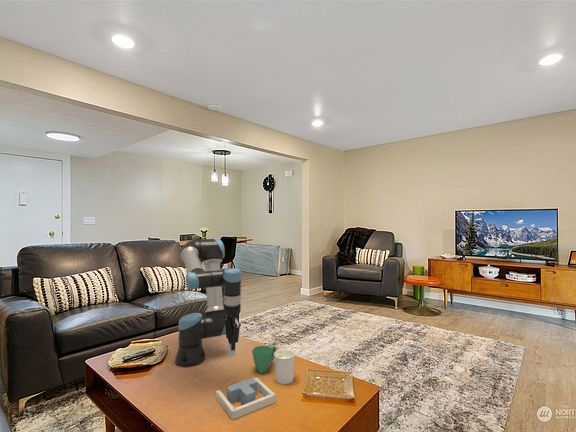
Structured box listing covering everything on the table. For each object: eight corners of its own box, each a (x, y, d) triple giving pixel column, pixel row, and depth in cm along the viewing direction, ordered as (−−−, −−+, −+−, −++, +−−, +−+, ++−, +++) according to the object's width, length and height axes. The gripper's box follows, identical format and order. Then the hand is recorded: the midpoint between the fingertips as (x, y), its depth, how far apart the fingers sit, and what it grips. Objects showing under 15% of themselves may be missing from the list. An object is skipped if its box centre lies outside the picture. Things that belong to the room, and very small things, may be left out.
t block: (226, 399, 126) (226, 386, 126) (252, 389, 133) (252, 378, 133) (237, 411, 118) (237, 398, 118) (264, 400, 125) (264, 388, 125)
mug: (263, 377, 143) (263, 356, 143) (248, 371, 148) (248, 351, 148) (282, 365, 155) (282, 345, 155) (267, 360, 160) (267, 341, 160)
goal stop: (216, 398, 127) (216, 391, 127) (256, 384, 137) (256, 377, 137) (232, 420, 113) (232, 411, 113) (275, 402, 124) (275, 394, 124)
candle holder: (298, 376, 144) (298, 351, 144) (289, 387, 135) (289, 360, 135) (279, 372, 148) (279, 347, 148) (270, 382, 139) (270, 356, 139)
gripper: (218, 301, 139) (218, 352, 140) (230, 309, 129) (230, 364, 129) (233, 298, 144) (233, 348, 144) (246, 306, 133) (246, 359, 134)
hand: (231, 356), depth 137 cm, fingers closed
